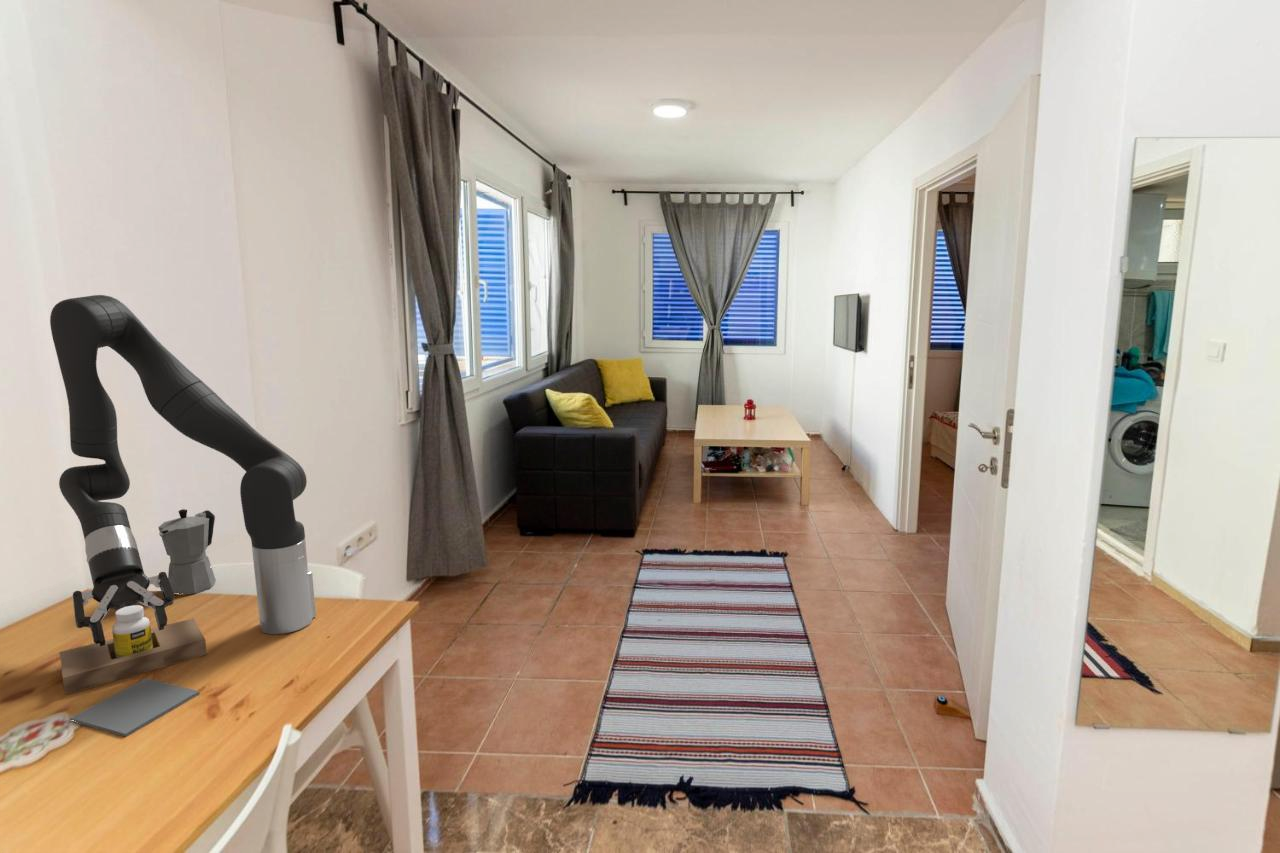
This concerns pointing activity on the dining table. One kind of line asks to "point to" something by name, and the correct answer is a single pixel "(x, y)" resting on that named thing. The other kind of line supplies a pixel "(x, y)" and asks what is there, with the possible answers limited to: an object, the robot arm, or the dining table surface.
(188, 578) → the coffeepot
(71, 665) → the bottle holder tray
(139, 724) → the slate pad
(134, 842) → the dining table surface
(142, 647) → the supplement bottle
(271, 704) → the dining table surface
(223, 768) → the dining table surface
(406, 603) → the dining table surface
